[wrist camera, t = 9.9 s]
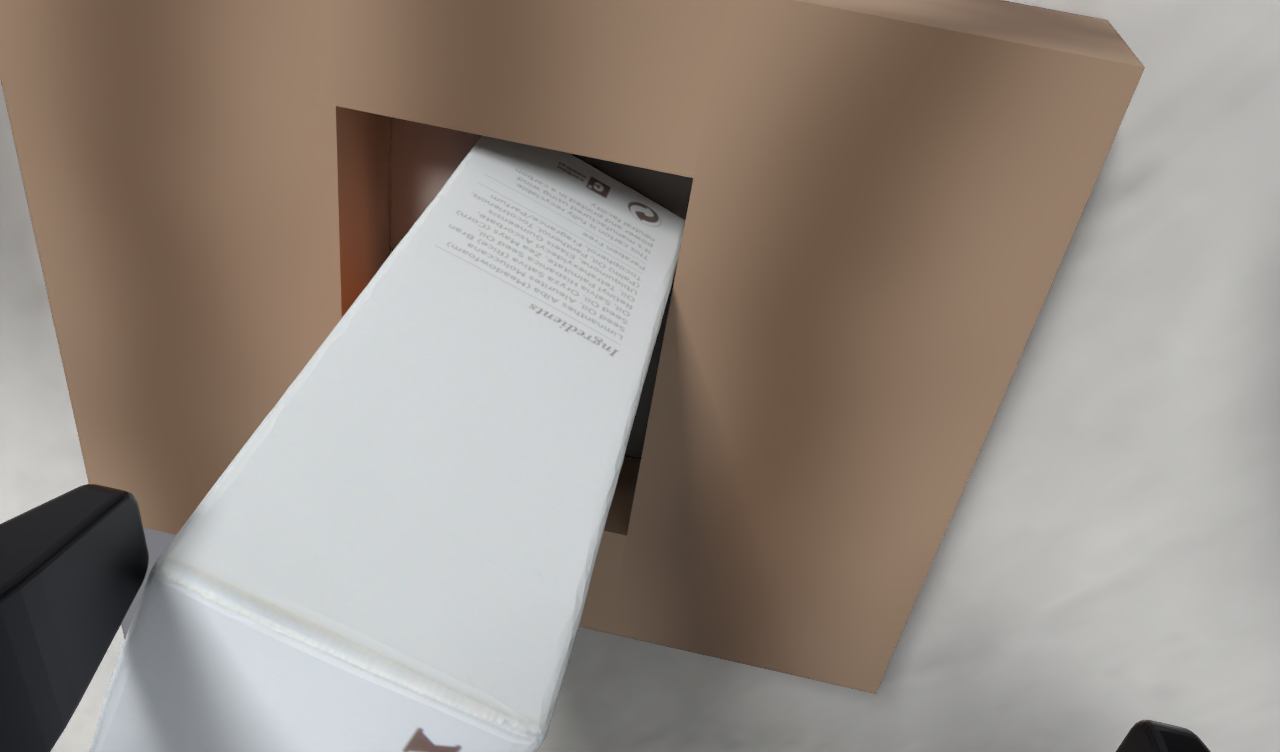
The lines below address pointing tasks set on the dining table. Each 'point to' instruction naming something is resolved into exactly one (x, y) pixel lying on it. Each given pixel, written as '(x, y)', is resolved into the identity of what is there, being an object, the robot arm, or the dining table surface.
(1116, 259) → the dining table surface
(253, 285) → the holder block
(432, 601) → the skincare box
